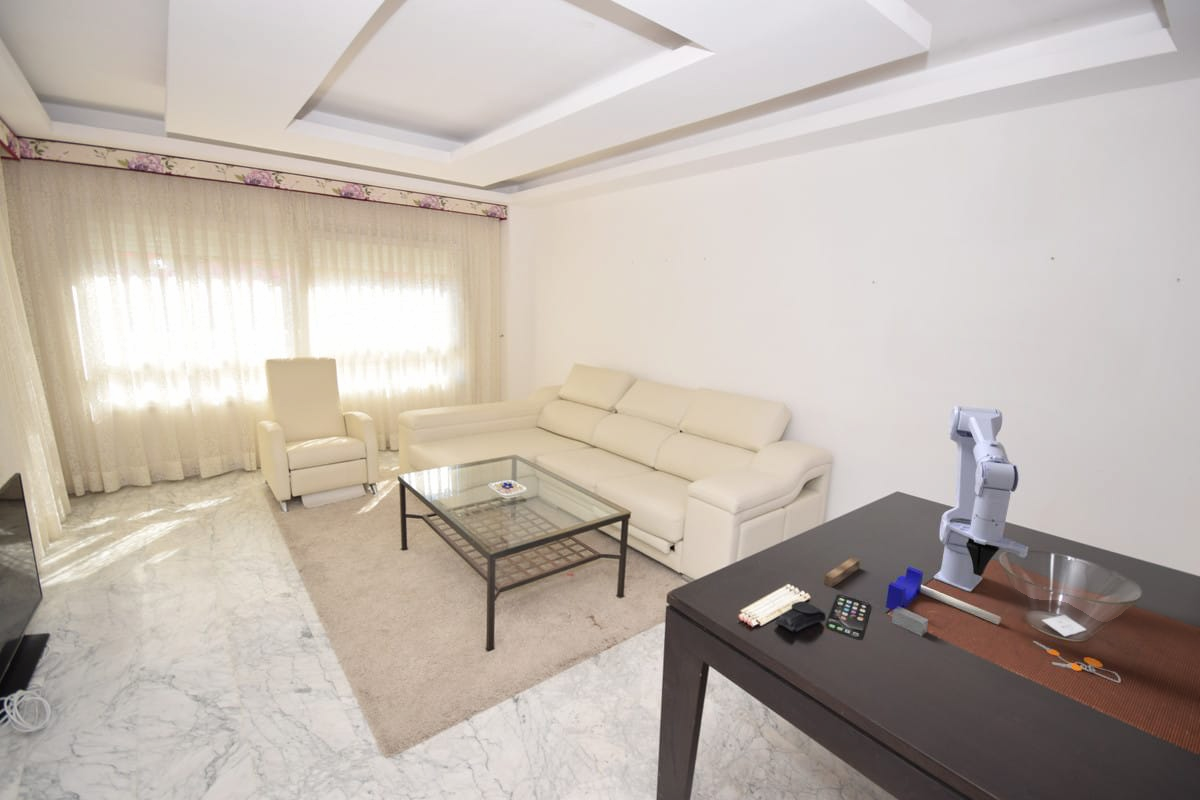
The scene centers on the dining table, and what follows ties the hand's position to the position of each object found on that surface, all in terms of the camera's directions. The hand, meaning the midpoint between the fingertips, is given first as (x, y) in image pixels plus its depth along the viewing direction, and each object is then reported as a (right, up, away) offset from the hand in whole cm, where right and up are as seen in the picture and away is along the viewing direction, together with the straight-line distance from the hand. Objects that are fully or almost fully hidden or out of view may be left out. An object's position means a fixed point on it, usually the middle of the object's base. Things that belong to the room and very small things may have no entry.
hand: (978, 573), depth 115 cm
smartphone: (-28, -11, +2) cm, 30 cm away
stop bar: (-22, -7, +18) cm, 29 cm away
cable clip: (-13, -9, +8) cm, 18 cm away
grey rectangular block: (-17, -11, -2) cm, 20 cm away
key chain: (+10, -14, -12) cm, 21 cm away
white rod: (-2, -9, +7) cm, 12 cm away
